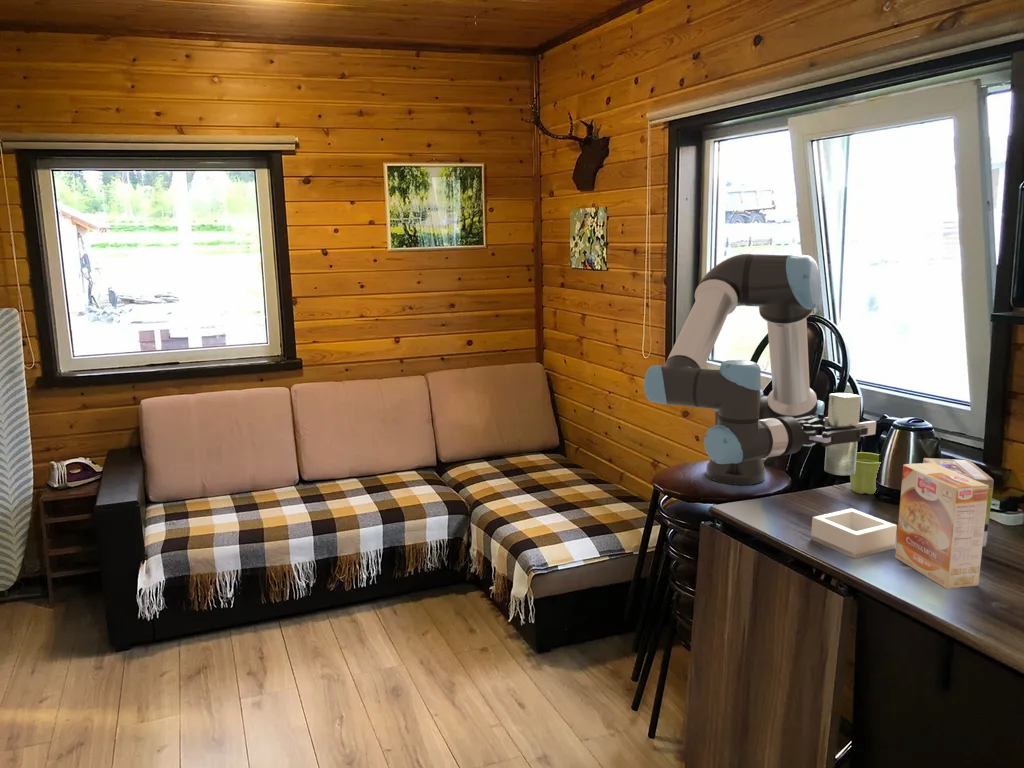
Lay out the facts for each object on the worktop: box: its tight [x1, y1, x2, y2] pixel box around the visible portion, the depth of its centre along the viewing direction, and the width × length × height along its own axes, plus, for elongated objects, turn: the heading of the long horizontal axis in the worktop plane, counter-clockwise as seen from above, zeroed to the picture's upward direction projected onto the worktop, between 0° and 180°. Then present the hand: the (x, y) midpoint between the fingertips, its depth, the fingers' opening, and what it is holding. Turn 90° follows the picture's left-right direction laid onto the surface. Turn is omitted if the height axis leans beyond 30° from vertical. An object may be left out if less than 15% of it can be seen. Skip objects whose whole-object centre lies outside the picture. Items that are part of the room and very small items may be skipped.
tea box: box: [922, 457, 995, 548], centre depth 176 cm, size 15×10×15 cm, turn 168°
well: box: [810, 507, 898, 559], centre depth 172 cm, size 12×12×5 cm
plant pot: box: [849, 451, 881, 495], centre depth 205 cm, size 9×9×9 cm
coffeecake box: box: [894, 462, 989, 590], centre depth 157 cm, size 15×7×20 cm, turn 11°
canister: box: [823, 392, 862, 476], centre depth 171 cm, size 6×6×16 cm
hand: (861, 424), depth 173 cm, fingers closed on canister, 6 cm apart
